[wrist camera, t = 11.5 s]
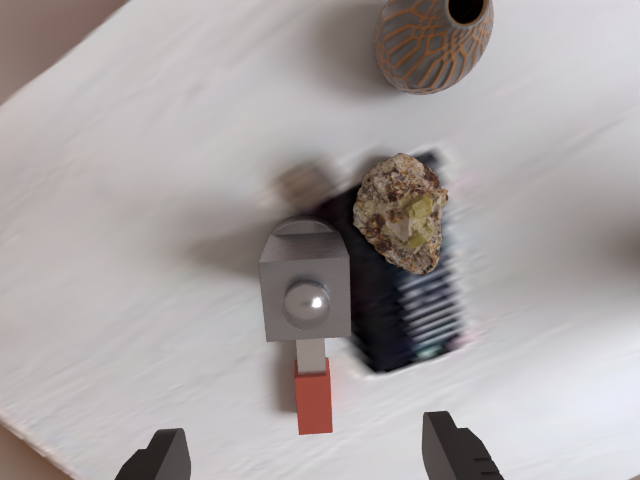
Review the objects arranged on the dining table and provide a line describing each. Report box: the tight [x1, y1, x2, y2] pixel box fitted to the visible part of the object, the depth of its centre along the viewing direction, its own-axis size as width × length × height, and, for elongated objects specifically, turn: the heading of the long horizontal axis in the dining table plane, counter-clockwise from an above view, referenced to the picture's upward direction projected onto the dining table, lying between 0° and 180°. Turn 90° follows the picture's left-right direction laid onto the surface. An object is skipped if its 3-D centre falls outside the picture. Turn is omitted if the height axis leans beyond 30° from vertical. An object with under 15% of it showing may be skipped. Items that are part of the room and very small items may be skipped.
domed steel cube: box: [258, 231, 351, 342], centre depth 23 cm, size 5×5×7 cm
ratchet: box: [270, 215, 338, 435], centre depth 28 cm, size 7×21×6 cm, turn 3°
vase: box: [375, 0, 494, 95], centre depth 20 cm, size 7×7×9 cm
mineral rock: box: [353, 153, 448, 275], centre depth 27 cm, size 11×4×8 cm
